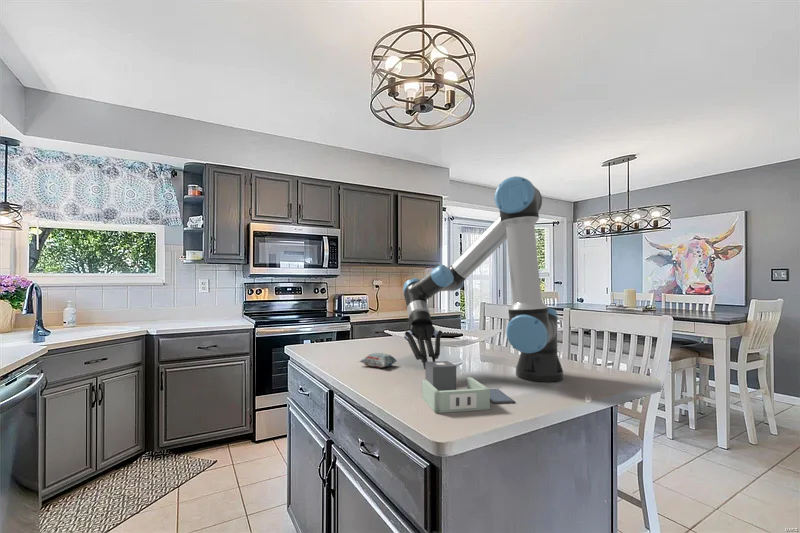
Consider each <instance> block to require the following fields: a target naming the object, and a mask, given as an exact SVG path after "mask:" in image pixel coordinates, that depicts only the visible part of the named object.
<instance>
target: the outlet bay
mask: <svg viewBox="0 0 800 533" xmlns="http://www.w3.org/2000/svg"><path fill="white" fill-rule="evenodd" d="M466 384H467V385H466V387H467V388H466V389H456V390H446V391H438V390H437V389H436V388H435V387H434V386H433V385H432V384H431V383H430V382H428V381H427V380H425V379H422V383H421V389H422V390H421V393H422V394H421V397H422V398H421V399H423V401H424V402H425V404H427V405H428V406H429V407H430V409H431V410H432V411H433V412H434V413H435V414H440V413H441V414H443V413H457V412H469V411H471V412H473V411H483V410H490V409H491V401H490V389H491V388H489V387H487V386H485V385H484V384H483V383H481V382H480V381H478V380H476V379H475V378H473V377H471V376H469V377H468V376H467V380H466Z"/></svg>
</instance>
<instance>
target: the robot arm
mask: <svg viewBox="0 0 800 533" xmlns="http://www.w3.org/2000/svg"><path fill="white" fill-rule="evenodd" d="M494 202H495V206H496V207H497V209H498V210H499V216H498V217H497V219H495V220H494V222H493V223H491V224H490V225H489V226H488V227H487V228H486V229H485V231H483V233H482V234H480V235H479V237H477V238H476V239H475V240H474V242H473V243H472V244H471V245H470V246H469V247H467V249H466V250H465V251H464V252H463V253H462V254H461V255H460V256H459V257H458V258H457V259H456V260H455V261H454V262H453V263H452V264H451V265H450V266H449V267H448V266H445V264H440V265H438V266H436V267H434V268H432V270H431V271H429V272H428V273H427V274H425V275H424V276H422V277H421V278H411V279H407V280H406V281H405V282H404V284H403V287H402V288H403V296H404V301H405V304H406V310H407V316H408V317H407V318H408V322H409V326H410V329H409V331H405V332H404V336H403V338H404V339H405V340H406V341H407V343H408V344H409V346H410V349H411V351H412V354H413V355H414V357H415V359H416V360H417V361H418V360H421V363H422V366H423V369H424V370H425V362H435V361H436V360H438V359H439V357H440V354H441V337H442V335H443V330H437V329H436V328H435V327H434V326H433V320H432V316H431V313H430V308H429V305H428V300H429V299H430V298H432V297H434V296H435V295H436V294H438V293H439V292H448V291H449V292H453V291H458V290H459V289H460V290H461V288H462V287H463V285H464V283H465V281H466V280H467V278H468V277H470V275H472V274H473V273H474V272H475V271H476V270H477V269H478V268H479V267H480V266H481V265H482V264H483V263H484V262H485V261H486V260H487V259H488V258H489V257H491V256H492V254H493V253H494V252H495V251H496V250H497V249H498V248H500V246H501V245H502V244H504V242H507V253H508V254H507V255H508V263H509V265H508V266H509V275H510V285H511V286H510V288H511V296H512V297H511V298H512V300H511V301H512V303H511V305H510V306H509V307H508V308H507V310H508V319H509V320H508V324H507V326H506V329H505V330H506V331H505V332H506V338H507V340H508V343H509V344H510V345H511V346H512V347H513V348H514V349H515V350H516V351H518V352H520V354H519V357H518V360H517V363H516V365H515V366H516V367H515V375H516V377H518V378H519V379H523V380H527V381H528V380H529V381H532V382H533V381H534V382H543V383H544V382H546V383H547V382H548V383H551V382H559V381H563V380H564V370H563V367H562V364H561V360H560V358H559V356H558V320H559V319H558V318H559V317H558V312H557V311H556V309H554V308H550V307H548V306H547V305H546V304H545V303H544V302H543V300H542V292H541V280H540V271H539V270H540V269H539V260H538V249H537V239H536V238H537V237H536V229H535V225H536V224H537V222H538V221H539V220H540V215H539V212H540V210H541V209H542V206H543V196H542V194H541V192H540V190H539V189H538V188H537V187H536V186H534V184H533V182H531V181H530V180H529V179H528V178H525V177H522V176H510V177H507V178H505V179H504V180H502V181H501V182H500V183H499V184H498V186H497V187H496V189H495V193H494ZM433 335H434V338H435V340H434V341H435V342H434V345H433V343H432V342H433V341H432V336H433ZM414 338H415V339H416V340H417V343H416V341H415V339H414ZM417 344H418V345H417ZM418 346H419V347H418ZM433 346H434V347H433ZM426 349H427V350H426Z"/></svg>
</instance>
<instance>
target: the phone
mask: <svg viewBox="0 0 800 533" xmlns="http://www.w3.org/2000/svg"><path fill="white" fill-rule="evenodd" d="M489 389H490V403H492V404H493V405H502V404H503V405H504V404H507V405H508V404H516V401H515V400H514V399H512V397H510V396H509V395H507V394H506V393H504V392H503V391H502V390H500V389H499V388H489Z"/></svg>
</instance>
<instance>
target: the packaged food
mask: <svg viewBox="0 0 800 533" xmlns="http://www.w3.org/2000/svg"><path fill="white" fill-rule="evenodd" d="M397 362H398V359H396V358H395V356H392V355H391V354H387V353H383V352H372V353H369V354H367V355H366V356H365V357H364V358H362V359H361V360H358V363H362V364H363V365H365V366H367V367H373V368H378V369H379V368H387V367H390V366H393V364H395V363H397Z"/></svg>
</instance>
